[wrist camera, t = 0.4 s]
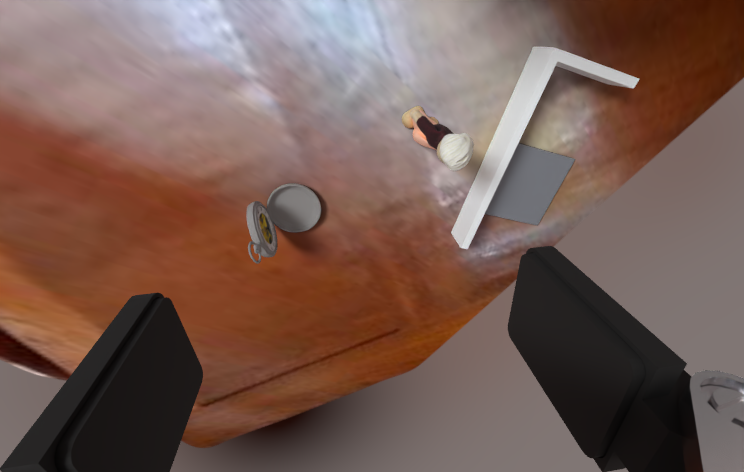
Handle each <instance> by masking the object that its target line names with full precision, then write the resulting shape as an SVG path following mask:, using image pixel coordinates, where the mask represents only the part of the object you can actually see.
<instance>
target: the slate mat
mask: <svg viewBox="0 0 744 472" xmlns="http://www.w3.org/2000/svg"><path fill="white" fill-rule="evenodd" d="M574 161H575V159H573V158H570V157H566V156H563V155H559V154H556V153H552V152H549V151H545V150H542V149H538V148H534V147H531V146H527V145H524V144H520V143H518V145H517V147H516V149H515V151H514V153H513V155H512V158H511V160H510V162H509V164H508V166H507V168H506V170H505V172H504V174H503V176H502V178H501V180H500V183H499V185H498V187H497V189H496V191H495V193H494V195H493V197H492V199H491V201H490V203H489V206H488V208H487V210H486V212H485V214H487V215H492V216H496V217H501V218H506V219H510V220H515V221H520V222H524V223H529V224H533V225H538V224H539V222H540V220H541V218H542V217H543V215H544V213H545V211H546V210H547V208H548V206H549V204H550V203H551V201H552V199H553V197H554V196H555V194H556V192H557V190H558V189H559V187H560V185H561V183H562V182H563V180H564V178H565V176H566V175H567V173H568V171H569V169H570V168H571V166H572V164H573V162H574Z"/></svg>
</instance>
